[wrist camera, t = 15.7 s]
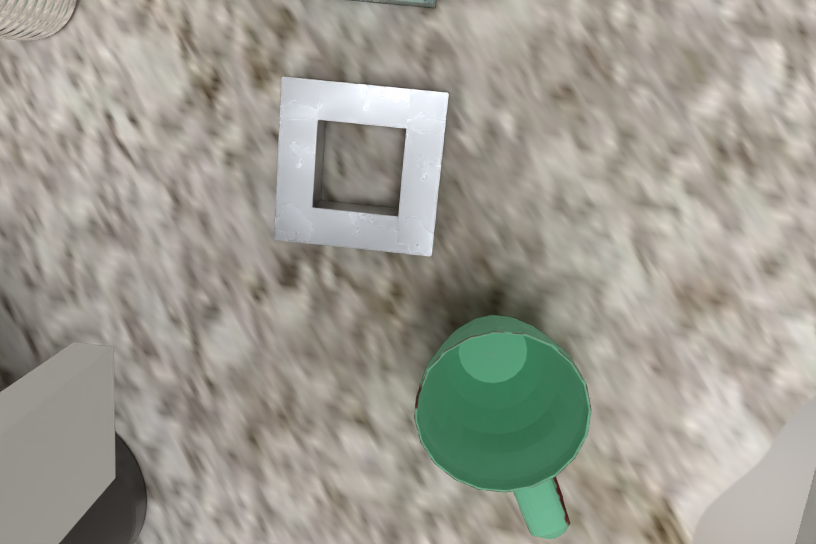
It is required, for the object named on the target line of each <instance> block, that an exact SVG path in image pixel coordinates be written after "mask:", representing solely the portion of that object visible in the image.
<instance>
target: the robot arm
mask: <svg viewBox="0 0 816 544" xmlns="http://www.w3.org/2000/svg"><path fill="white" fill-rule="evenodd" d="M145 513H146V492H145V486H144V482H143V478H142V475H141V472H140V470H139V467H138V465H137V463H136V461H135V459H134V457H133V456H132V454H131V453H130V451H129V449H128V448H127V447H126V445H125V444H124V443H123V442H122V441H121V439H120V438H119V437H118V436H117V435H116V434H115V410H114V347H111V346H102V345H93V344H85V343H76V342H73V343H72V344H70V345H69V346H67V347H66V348H64V349H63V350H61V351H60V352H59V353H57V354H56V355H54V356H53V357H51V358H50V359H48V360H47V361H45V362H44V363H42V364H41V365H39V366H38V367H36V368H35V369H34V370H32V371H31V372H29V373H28V374H26V375H25V376H23V377H22V378H20V379H19V380H17V381H16V382H14V383H13V384H11V385H10V386H9V387H7V388H6V389H4V390H3V391H1V392H0V544H134V542H135V541H136V539H137V537H138V535H139V533H140V531H141V529H142V526H143V523H144V518H145ZM795 544H816V469H815V473H814V476H813V480H812V484H811V488H810V492H809V495H808V499H807V502H806V506H805V510H804V513H803V517H802V521H801V524H800V528H799V532H798V535H797V539H796V543H795Z"/></svg>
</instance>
